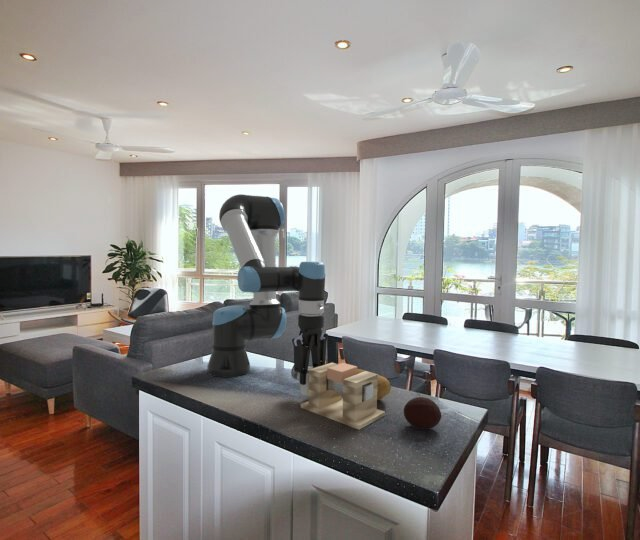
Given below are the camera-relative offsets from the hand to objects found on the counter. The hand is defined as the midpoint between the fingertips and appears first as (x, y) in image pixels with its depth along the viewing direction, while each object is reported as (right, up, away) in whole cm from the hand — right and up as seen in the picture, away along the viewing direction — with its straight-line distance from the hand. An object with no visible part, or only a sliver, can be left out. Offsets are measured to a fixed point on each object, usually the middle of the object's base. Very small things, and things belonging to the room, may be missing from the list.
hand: (309, 392), depth 115 cm
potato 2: (+29, -4, -17) cm, 34 cm away
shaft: (+6, +2, -5) cm, 8 cm away
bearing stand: (+9, -3, -8) cm, 12 cm away
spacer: (+9, +7, -8) cm, 14 cm away
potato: (+18, -3, +2) cm, 18 cm away
